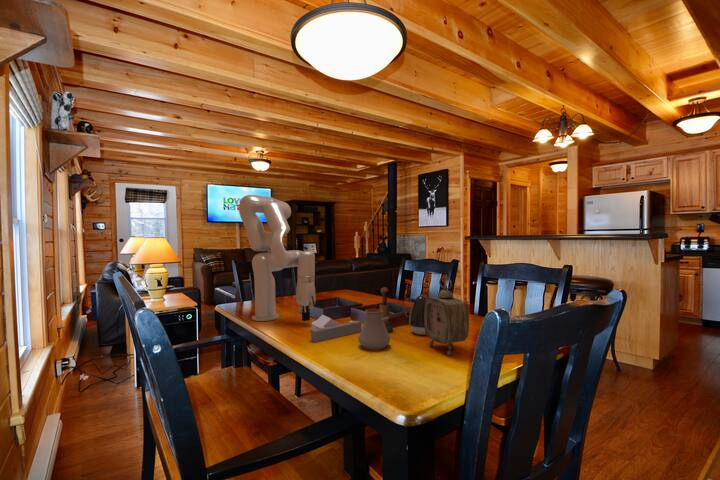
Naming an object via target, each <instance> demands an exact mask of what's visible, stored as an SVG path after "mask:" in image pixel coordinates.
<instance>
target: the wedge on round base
mask: <svg viewBox="0 0 720 480" xmlns="http://www.w3.org/2000/svg"><path fill="white" fill-rule="evenodd" d="M338 324H339V323H338V322H337V321H336V320H334V319H332V318H330V316H326V315H324V314H322V315H321V316H319V318H318V319H316V320H315V321H312V322H311V330H314V329H319V328H320V327H329V326H334V325H338Z"/></svg>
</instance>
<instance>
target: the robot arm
mask: <svg viewBox="0 0 720 480" xmlns="http://www.w3.org/2000/svg"><path fill="white" fill-rule="evenodd" d="M238 213H239V216H240V218H241V221H242V223H243V226H244V229H245V233H246V236H247V240H248V242H249V243H248V244H249V246H250V248H251V250H253V252H254V251H255V252H259V253H257V254H255V255H254V256H253V258H252V260H251V267H252V271H253V277H254V278H253V279H254V281H253V282H254V310H255V311H254V315H252V316H251V320H252V321H255V322H269V321H274V320H278V319H279V318H280V315H279V314H278V313H276V312H277V311H276V310H277V309H276V308H277V307H276V280H275V277H274V275H273V273H272V272H278V271H282V270H283V269H287V268H289V269H290V268H295V267H297V282H296V288H295V303H296V304H297V305H298V306H300V309H301V310H300V311H301V321H303V322H306V321H310V320H311V311H312V309H314V306H315V305H316V287H315V284H316V282H315V276H316V273H315V272H316V269H315V268H316V266H315V264H316V260H315V259H316V258H315V257H316V256H315V255H316V254H315V252H313V251H311V250H310V251H308V250H307V251H306V250H305V251H303V250H299V249H297V250H295V249H293V250H286V248H285V246H284V244H283V236H285V235H287V234H289V232H290V230H291V227H290V225H289V223H288V220H287V219H289V218H290V217H291V215H292V209H291V206H290V205H289V204H288V203H287V202H285V201H282V200H279V199H276V198H274V197H272V196H266V195H257V194H248V195H245V196H243V197H242V198H241V199H240V201H239V203H238ZM257 214H263V215H264V218H265V220H266V223H267V225H268V228H269V230H270V231H266V230H265V228H264V224H263V222H262V220H261V218H260V217H259V216H258V215H257ZM266 251H267V252H266Z"/></svg>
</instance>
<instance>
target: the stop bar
mask: <svg viewBox="0 0 720 480" xmlns="http://www.w3.org/2000/svg"><path fill="white" fill-rule="evenodd" d="M361 330H362V321H361V320H360V321H359V320H349V321H348V322H344V323H338V325H334V326H329V327H320V328H319V329H314V330H312V329H311V330H310V341H311V342H313V343H314V344H315V343H316V344H317V343H320V342H324V341H328V340H332V339H337V338H340V337H341V338H342V337H344V336H345V337H346V336H348V335H353V334H357V333H360V332H361Z"/></svg>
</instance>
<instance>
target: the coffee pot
mask: <svg viewBox="0 0 720 480" xmlns="http://www.w3.org/2000/svg"><path fill="white" fill-rule="evenodd" d="M364 312H365V313H366V316H365V317H366V318H365V319H364V322H363V325H362V326H361V332H359V334H358V338H357V339H358V340H357V341H358V343H359V344H360V345H361V346H362V348H364V349H366V350H369V351H378V350H383V349H385V348H386V346H387V345H388V344H390V342H391V336H390V333H388V331H387V329H386V327H385V324H384V322H383V321H384V320H387V319H389V320H390V319H394V318H399V317H401V316H403V315H405V316H406V317H407V318H409V316H408V315H407V313H409V314H410V312H411V311H408V310H404V311H403V310H402V311H400V312H396V313H393V314H391V315H389V317H385V318H382V317H381V314H382V312H383V310H381V309H380V308H368V309H365V310H364Z"/></svg>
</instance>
